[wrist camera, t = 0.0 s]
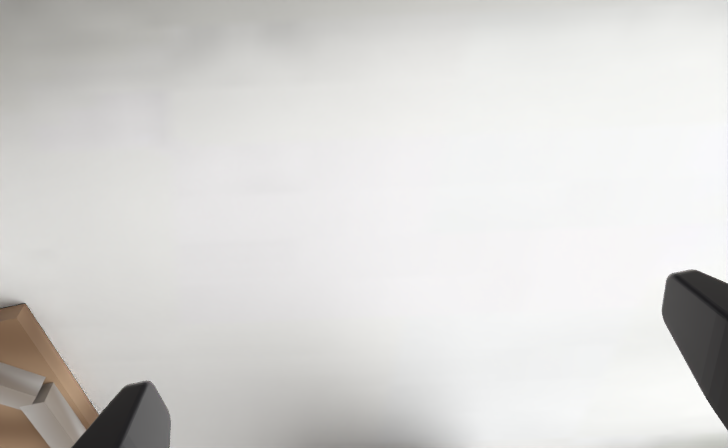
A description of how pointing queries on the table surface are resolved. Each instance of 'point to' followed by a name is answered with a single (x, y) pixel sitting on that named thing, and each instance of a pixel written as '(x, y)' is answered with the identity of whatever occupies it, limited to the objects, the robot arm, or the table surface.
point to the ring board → (37, 388)
